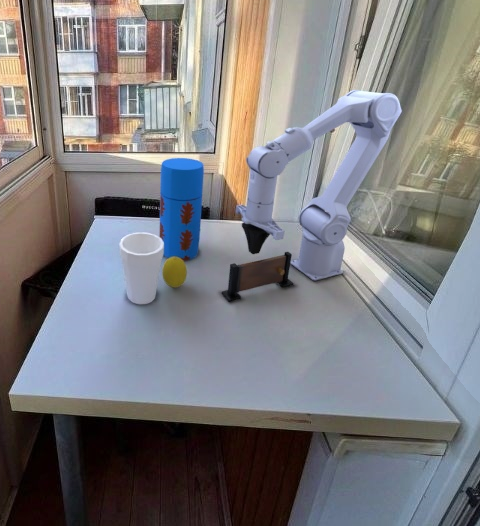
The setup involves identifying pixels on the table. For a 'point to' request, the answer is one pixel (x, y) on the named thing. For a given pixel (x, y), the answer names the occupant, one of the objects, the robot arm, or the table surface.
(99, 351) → the table surface
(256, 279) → the door
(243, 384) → the table surface
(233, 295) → the door frame
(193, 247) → the thermos
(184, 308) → the table surface
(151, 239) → the foam cup
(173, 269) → the lemon
